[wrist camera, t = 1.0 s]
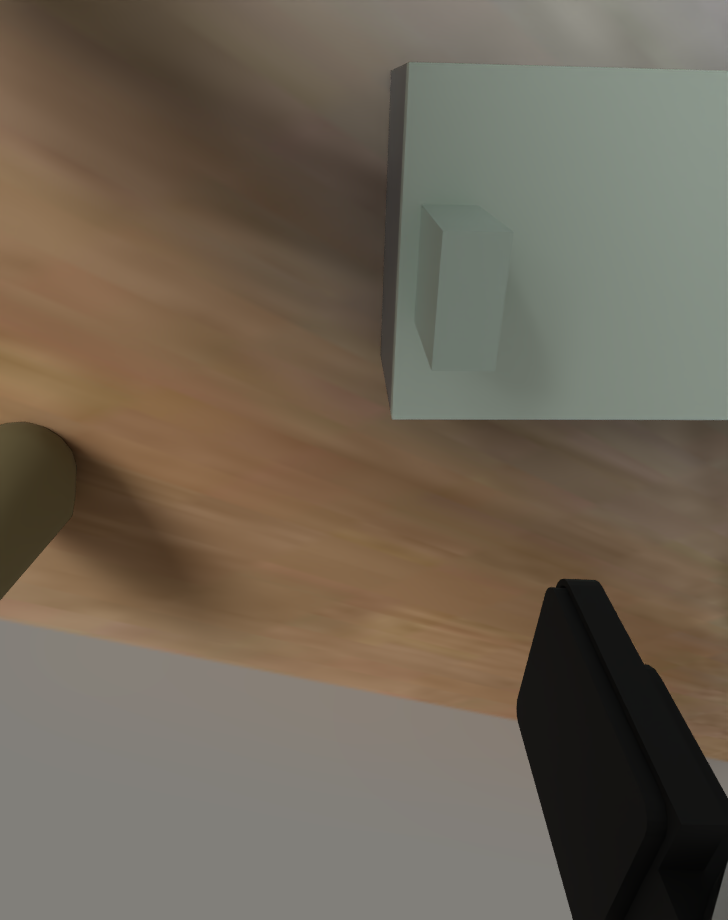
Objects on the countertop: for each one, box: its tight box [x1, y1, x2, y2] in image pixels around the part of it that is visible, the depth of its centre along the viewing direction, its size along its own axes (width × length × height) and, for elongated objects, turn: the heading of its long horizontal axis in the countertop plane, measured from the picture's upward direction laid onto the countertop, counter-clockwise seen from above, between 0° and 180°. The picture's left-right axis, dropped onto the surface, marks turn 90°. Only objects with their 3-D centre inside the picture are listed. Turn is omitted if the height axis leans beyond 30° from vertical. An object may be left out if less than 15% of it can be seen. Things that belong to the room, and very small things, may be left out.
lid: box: [390, 62, 728, 420], centre depth 26 cm, size 15×22×8 cm
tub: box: [381, 63, 407, 408], centre depth 32 cm, size 15×22×8 cm
